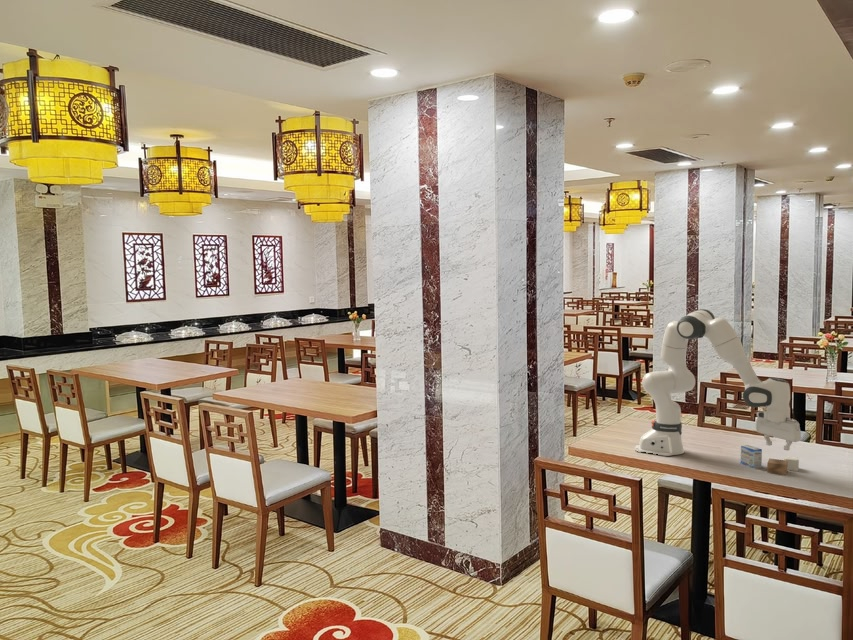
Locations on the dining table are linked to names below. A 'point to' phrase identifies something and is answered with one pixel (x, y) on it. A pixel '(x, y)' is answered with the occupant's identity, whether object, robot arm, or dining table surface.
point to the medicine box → (751, 456)
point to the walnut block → (777, 466)
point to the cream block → (792, 463)
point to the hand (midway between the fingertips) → (777, 447)
